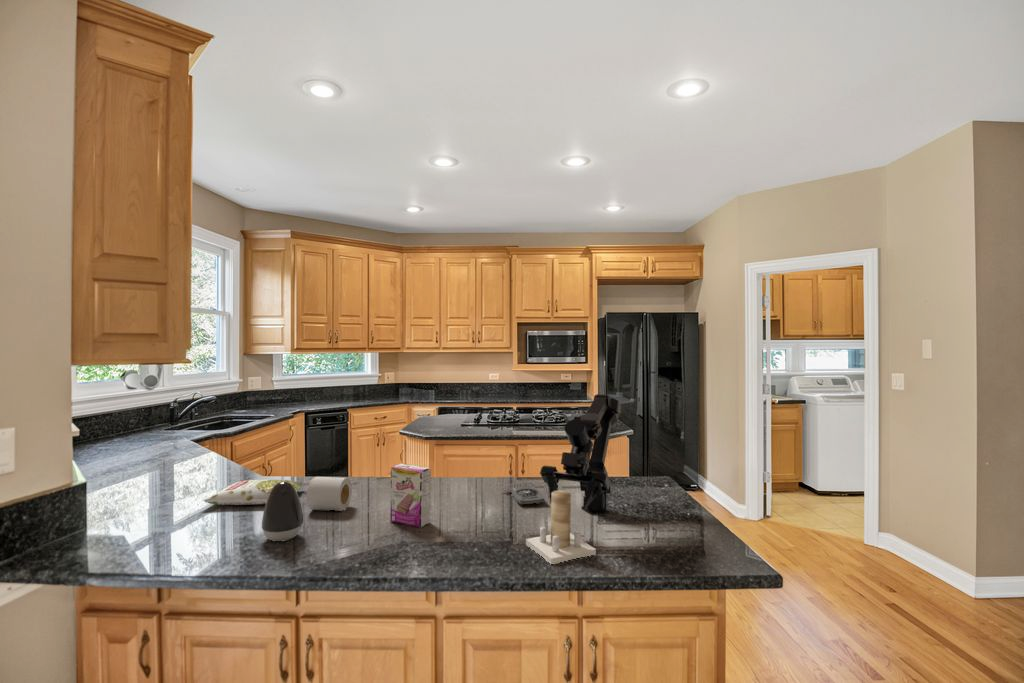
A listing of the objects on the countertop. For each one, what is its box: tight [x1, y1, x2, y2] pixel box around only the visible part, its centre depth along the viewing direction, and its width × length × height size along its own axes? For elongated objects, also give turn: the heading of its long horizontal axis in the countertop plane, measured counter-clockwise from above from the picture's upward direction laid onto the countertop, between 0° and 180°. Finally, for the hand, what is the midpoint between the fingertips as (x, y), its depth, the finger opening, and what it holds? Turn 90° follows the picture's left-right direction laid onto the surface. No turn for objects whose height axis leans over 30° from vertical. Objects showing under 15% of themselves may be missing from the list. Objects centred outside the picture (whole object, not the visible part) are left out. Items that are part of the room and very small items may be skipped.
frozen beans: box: [201, 479, 305, 506], centre depth 167 cm, size 21×6×25 cm
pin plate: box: [525, 526, 597, 565], centre depth 129 cm, size 13×13×5 cm
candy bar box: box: [389, 463, 431, 528], centre depth 147 cm, size 11×5×16 cm, turn 65°
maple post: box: [550, 490, 572, 548], centre depth 129 cm, size 5×5×13 cm
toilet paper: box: [306, 476, 353, 512], centre depth 158 cm, size 10×10×10 cm
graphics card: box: [501, 482, 545, 505], centre depth 170 cm, size 17×4×12 cm
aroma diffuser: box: [261, 481, 304, 542], centre depth 135 cm, size 10×10×15 cm
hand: (567, 506), depth 134 cm, fingers open, 9 cm apart
